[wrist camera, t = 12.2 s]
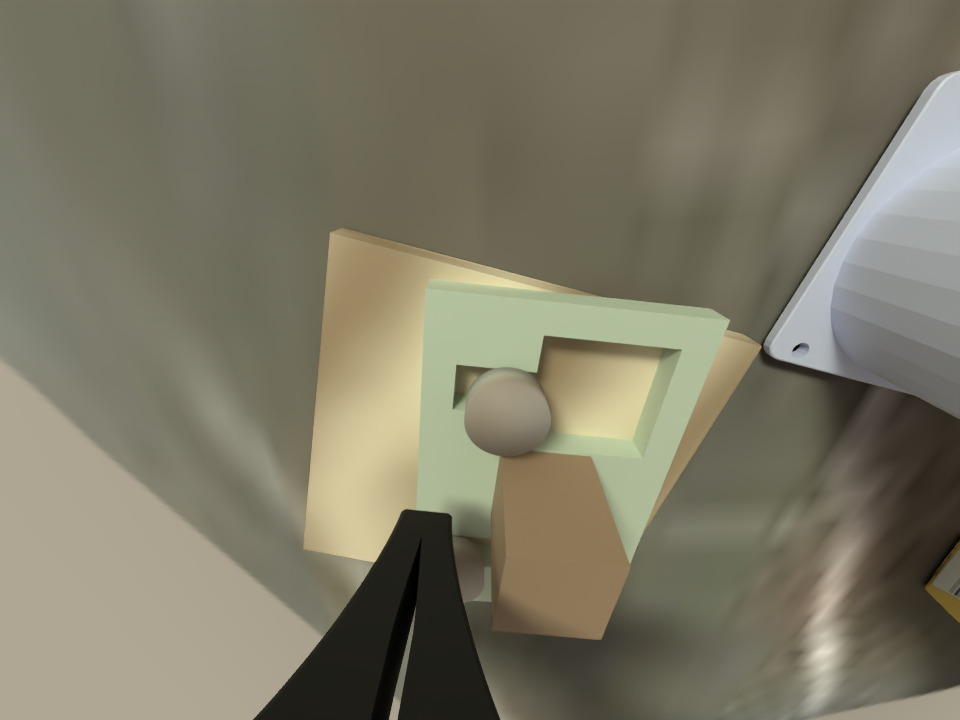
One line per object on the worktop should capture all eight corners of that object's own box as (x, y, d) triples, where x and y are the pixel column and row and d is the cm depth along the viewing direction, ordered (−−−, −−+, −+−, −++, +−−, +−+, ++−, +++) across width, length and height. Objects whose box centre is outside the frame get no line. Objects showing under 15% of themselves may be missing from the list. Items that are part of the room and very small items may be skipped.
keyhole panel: (711, 308, 12) (851, 396, 7) (604, 589, 17) (644, 734, 13) (430, 278, 11) (393, 350, 7) (416, 573, 17) (391, 715, 13)
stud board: (743, 334, 13) (818, 382, 10) (592, 582, 19) (612, 660, 16) (342, 227, 12) (293, 247, 9) (312, 529, 18) (277, 603, 15)
